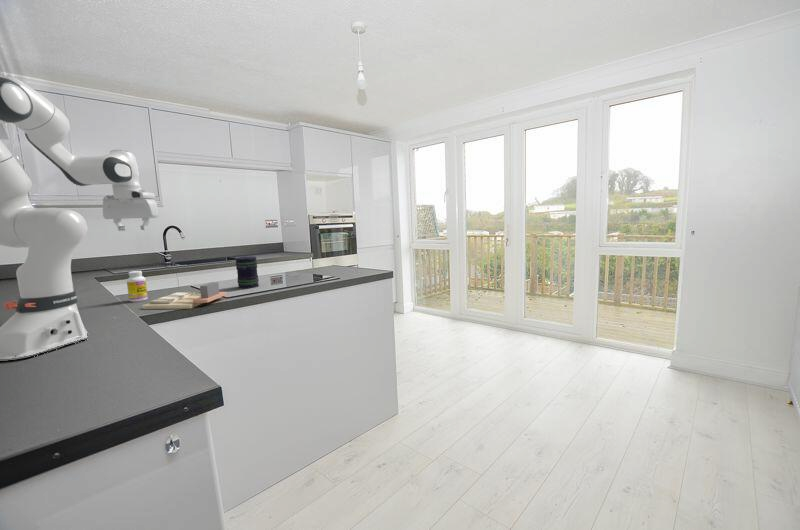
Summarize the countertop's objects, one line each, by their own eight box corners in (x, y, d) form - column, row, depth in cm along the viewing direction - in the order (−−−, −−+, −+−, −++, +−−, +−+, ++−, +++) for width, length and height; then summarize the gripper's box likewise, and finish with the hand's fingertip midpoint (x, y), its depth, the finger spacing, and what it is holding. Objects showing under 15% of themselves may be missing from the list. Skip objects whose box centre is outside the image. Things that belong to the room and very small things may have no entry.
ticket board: (190, 308, 138) (189, 301, 137) (142, 309, 139) (141, 302, 139) (219, 296, 157) (218, 290, 157) (177, 297, 159) (176, 291, 158)
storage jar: (239, 285, 181) (236, 257, 179) (259, 284, 184) (257, 256, 182) (236, 289, 172) (233, 259, 170) (258, 287, 175) (255, 258, 173)
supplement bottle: (138, 302, 151) (134, 273, 149) (125, 302, 152) (121, 272, 150) (151, 298, 157) (148, 270, 155) (139, 298, 159) (135, 270, 157)
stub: (207, 302, 140) (206, 287, 139) (193, 302, 140) (191, 287, 140) (226, 294, 154) (225, 280, 153) (213, 294, 154) (212, 280, 153)
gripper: (95, 195, 133) (100, 231, 135) (146, 193, 132) (151, 230, 134) (109, 195, 139) (114, 230, 141) (158, 194, 138) (163, 229, 140)
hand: (133, 230), depth 138 cm, fingers open, 8 cm apart
